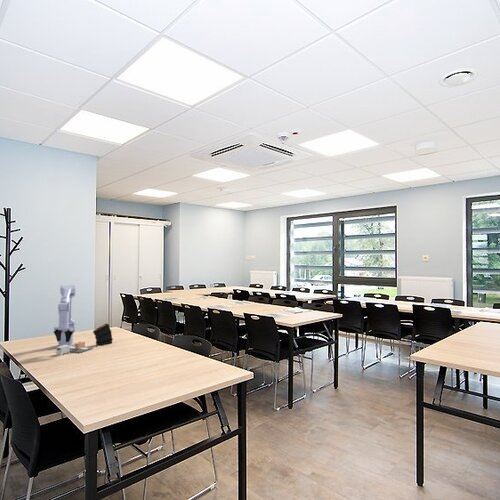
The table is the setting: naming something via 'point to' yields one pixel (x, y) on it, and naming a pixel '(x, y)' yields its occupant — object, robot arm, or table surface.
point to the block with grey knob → (79, 345)
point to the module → (62, 349)
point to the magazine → (103, 335)
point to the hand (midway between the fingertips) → (63, 341)
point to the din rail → (72, 349)
